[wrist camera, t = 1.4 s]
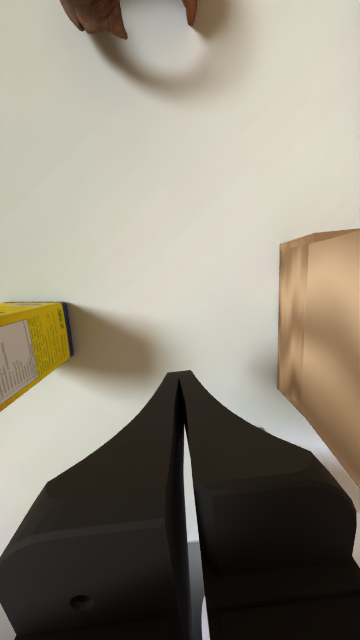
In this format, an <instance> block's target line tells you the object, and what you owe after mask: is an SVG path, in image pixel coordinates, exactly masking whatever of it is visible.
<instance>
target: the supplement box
mask: <svg viewBox="0 0 360 640" xmlns="http://www.w3.org/2000/svg"><path fill="white" fill-rule="evenodd" d="M73 355H74V354H73V347H72V340H71V333H70V326H69V320H68V313H67V307H66V303H65V302H5V303H0V412H1V411H2V410H3V409H5V408H6V407H7V406H8V405H10V404H11V403H12V402H14V401H15V400H16V399H18V398H19V397H20V396H21V395H23V394H24V393H25V392H27V391H28V390H29V389H30V388H32V387H33V386H34V385H36V384H37V383H38V382H40V381H41V380H42V379H43V378H45V377H46V376H47V375H48V374H50V373H51V372H52V371H54V370H55V369H56V368H57V367H59V366H60V365H61V364H63V363H64V362H65V361H66V360H68V359H69V358H70V357H71V356H73Z"/></svg>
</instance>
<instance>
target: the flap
mask: <svg viewBox="0 0 360 640" xmlns="http://www.w3.org/2000/svg"><path fill="white" fill-rule="evenodd" d="M300 412H301V413H302V414H303V415H304V417H305V418H306V419H307V421H308V422H309V423H310V425H311V426H312V427H313V429H314V430H315V431H316V432H317V434H318V435H319V436H320V438H321V439H322V440H323V442H324V443H325V444H326V445H327V447H328V448H329V449H330V451H331V452H332V453H333V455H334V456H335V457H336V458H337V460H338V461H339V462H340V464H341V465H342V466H343V468H344V469H345V470H346V471H347V473H348V474H349V475H350V477H351V478H352V479H353V481H354V482H355V483H356V484H357V486H358V487H359V488H360V230H359V231H356V232H352V233H349V234H345V235H341V236H338V237H334V238H331V239H327V240H324V241H320V242H317V243H313V244H310V245H309V252H308V272H307V292H306V311H305V331H304V351H303V371H302V390H301V410H300Z"/></svg>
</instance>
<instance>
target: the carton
mask: <svg viewBox="0 0 360 640" xmlns="http://www.w3.org/2000/svg"><path fill="white" fill-rule="evenodd" d="M359 230H360V229H350V230H340V231H331V232H321V233H313V234H310V235H307V236H304V237H301V238H298V239H295V240H292V241H289V242H286V243H282V244H280V268H279V325H278V382H277V389H278V390H279V391H280V392H281V393H282V394H283V395H284V396H285V397H286V398H287V399H288V400H289V401H290V402H291V403H292V404H293V406H294V407H295V408H296V409H297V410H298V411H299V412H300V410H301V390H302V371H303V351H304V331H305V311H306V292H307V272H308V252H309V245H310V244H313V243H317V242H320V241H324V240H327V239H331V238H334V237H338V236H341V235H345V234H349V233H352V232H356V231H359ZM300 413H301V412H300ZM301 414H302V413H301ZM302 415H303V414H302ZM303 416H304V415H303Z"/></svg>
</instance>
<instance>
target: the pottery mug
mask: <svg viewBox="0 0 360 640" xmlns="http://www.w3.org/2000/svg"><path fill="white" fill-rule="evenodd" d="M182 1H183V4H184V6H185V7H186V15H187V22H188V25H190V26H192V24H193V22H194V17H195V13H196V6H197V0H182ZM60 2H61V4H62V6H63V8H64V10H65V12H66V14H67V15H68V17H69V18H70V20H71V21H72V22H73V23H74V24H75V26H76V27H77V28H78V29H79V30H80V31H84V30H86V32H87V33H89V34H95V33H97V32H102V31H108V32H112V33H114V34H115V35H116V36H118V37H120V38H122V39H125V40H127V38H128V36H127V33H126V31H125V28H124V24H123V20H122V15H121V8H120V2H119V0H60Z"/></svg>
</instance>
